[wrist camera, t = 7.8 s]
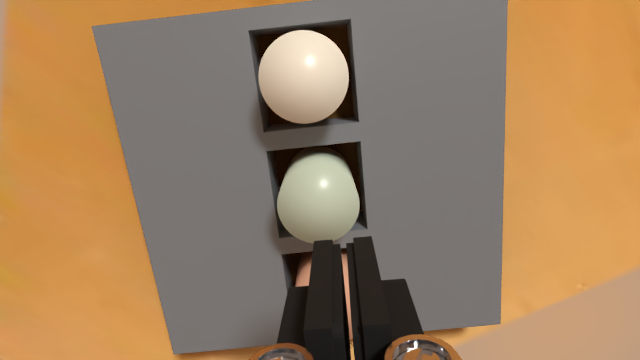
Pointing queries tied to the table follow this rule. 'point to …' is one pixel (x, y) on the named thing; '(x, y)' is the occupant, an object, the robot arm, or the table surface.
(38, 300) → the table surface
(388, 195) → the panel
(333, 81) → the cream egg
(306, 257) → the pink egg
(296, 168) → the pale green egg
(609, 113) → the table surface
